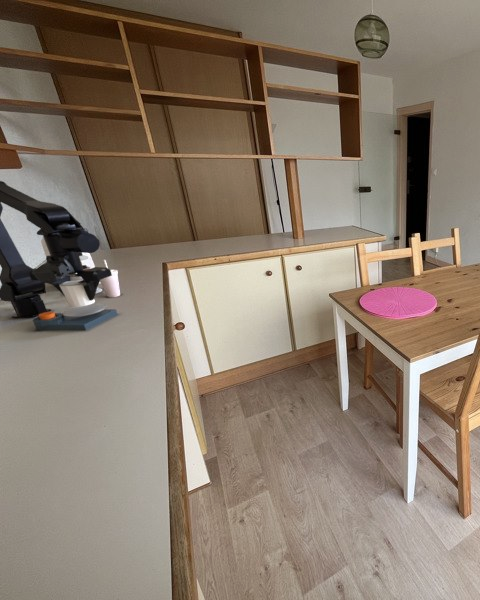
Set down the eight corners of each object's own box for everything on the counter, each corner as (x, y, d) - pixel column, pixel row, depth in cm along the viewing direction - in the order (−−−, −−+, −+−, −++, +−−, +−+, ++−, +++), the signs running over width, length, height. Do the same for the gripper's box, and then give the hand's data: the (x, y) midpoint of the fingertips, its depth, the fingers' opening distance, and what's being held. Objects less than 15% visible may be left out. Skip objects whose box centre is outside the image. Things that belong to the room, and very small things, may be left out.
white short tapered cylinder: (78, 308, 94) (70, 286, 91) (61, 306, 95) (52, 284, 93) (103, 300, 100) (96, 280, 98) (86, 298, 101) (78, 278, 99)
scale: (30, 332, 92) (26, 321, 90) (72, 314, 104) (68, 304, 103) (83, 332, 93) (78, 321, 91) (117, 314, 105) (114, 304, 103)
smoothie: (128, 294, 122) (118, 259, 117) (110, 299, 117) (98, 263, 112) (117, 292, 124) (106, 257, 119) (98, 297, 119) (86, 261, 114)
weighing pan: (53, 317, 94) (52, 316, 93) (82, 304, 103) (82, 303, 103) (88, 317, 94) (87, 316, 94) (114, 304, 103) (114, 303, 103)
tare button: (37, 320, 92) (35, 315, 91) (47, 316, 95) (45, 311, 94) (48, 320, 92) (46, 315, 92) (59, 316, 95) (57, 311, 95)
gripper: (-3, 256, 84) (21, 309, 89) (71, 257, 85) (90, 310, 90) (40, 247, 94) (59, 296, 100) (105, 249, 95) (120, 296, 101)
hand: (81, 300), depth 97 cm, fingers closed on white short tapered cylinder, 6 cm apart
